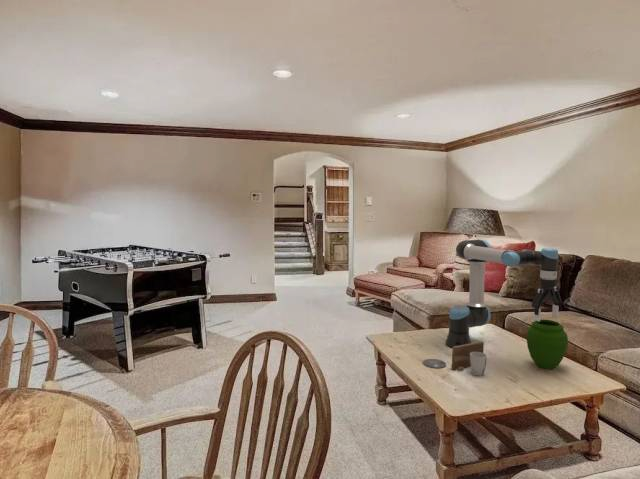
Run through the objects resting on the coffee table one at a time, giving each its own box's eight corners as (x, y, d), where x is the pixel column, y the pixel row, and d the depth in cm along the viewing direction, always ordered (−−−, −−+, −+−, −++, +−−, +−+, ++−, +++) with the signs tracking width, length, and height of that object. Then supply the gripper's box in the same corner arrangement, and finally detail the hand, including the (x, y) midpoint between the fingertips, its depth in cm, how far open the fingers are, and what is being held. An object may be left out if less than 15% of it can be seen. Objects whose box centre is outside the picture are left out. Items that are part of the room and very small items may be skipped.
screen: (449, 367, 215) (449, 345, 214) (477, 361, 224) (478, 340, 222) (457, 371, 210) (457, 349, 209) (485, 365, 218) (486, 343, 217)
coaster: (418, 361, 223) (418, 360, 223) (435, 358, 228) (435, 357, 228) (433, 370, 212) (433, 368, 212) (450, 366, 217) (450, 365, 217)
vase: (566, 377, 202) (569, 330, 200) (523, 369, 212) (525, 324, 210) (567, 364, 219) (569, 320, 217) (526, 357, 229) (528, 315, 227)
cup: (487, 377, 203) (488, 358, 202) (470, 376, 205) (471, 357, 204) (484, 370, 211) (485, 352, 210) (468, 369, 212) (468, 351, 212)
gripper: (538, 281, 197) (536, 324, 199) (571, 277, 208) (569, 318, 210) (524, 279, 204) (523, 320, 206) (557, 275, 215) (555, 314, 217)
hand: (546, 319), depth 208 cm, fingers open, 13 cm apart
